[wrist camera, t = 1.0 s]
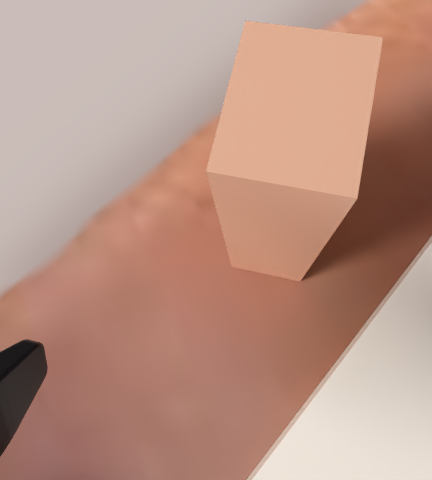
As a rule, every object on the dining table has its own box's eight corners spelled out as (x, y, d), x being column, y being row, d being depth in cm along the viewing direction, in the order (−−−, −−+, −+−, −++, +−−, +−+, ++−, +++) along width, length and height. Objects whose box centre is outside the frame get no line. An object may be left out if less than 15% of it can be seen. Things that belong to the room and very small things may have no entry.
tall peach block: (299, 281, 23) (357, 198, 10) (231, 266, 23) (205, 171, 11) (314, 201, 24) (383, 37, 11) (249, 188, 24) (245, 20, 12)
